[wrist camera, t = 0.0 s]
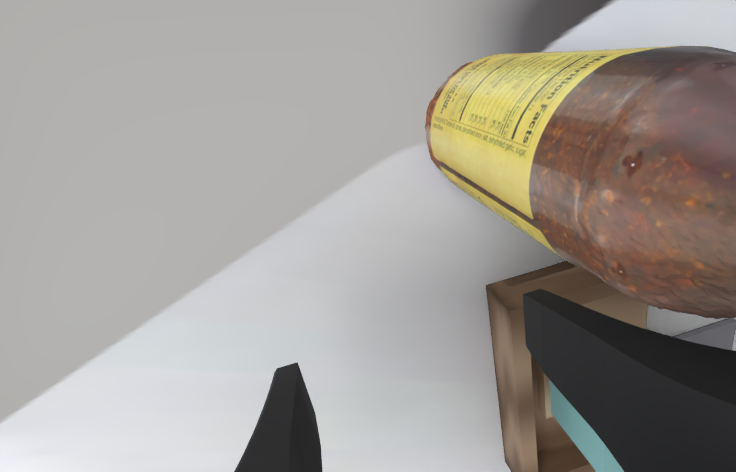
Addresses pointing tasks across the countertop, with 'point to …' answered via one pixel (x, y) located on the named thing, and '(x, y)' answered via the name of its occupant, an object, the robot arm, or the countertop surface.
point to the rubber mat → (713, 334)
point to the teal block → (582, 433)
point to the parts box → (524, 376)
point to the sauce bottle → (606, 162)
